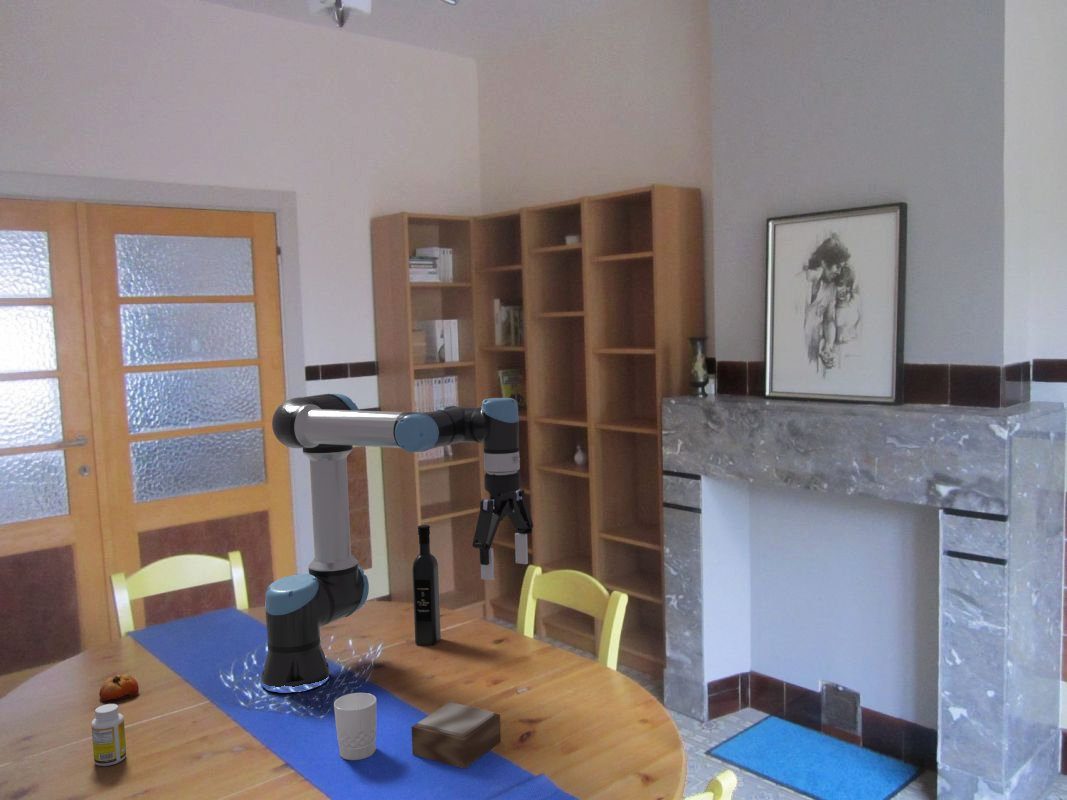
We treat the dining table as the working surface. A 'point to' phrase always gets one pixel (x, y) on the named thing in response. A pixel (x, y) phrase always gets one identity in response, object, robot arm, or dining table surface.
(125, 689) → the tomato
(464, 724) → the base
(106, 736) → the supplement bottle
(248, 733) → the dining table surface
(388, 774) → the dining table surface
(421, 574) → the wine bottle
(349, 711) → the white cup
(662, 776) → the dining table surface
